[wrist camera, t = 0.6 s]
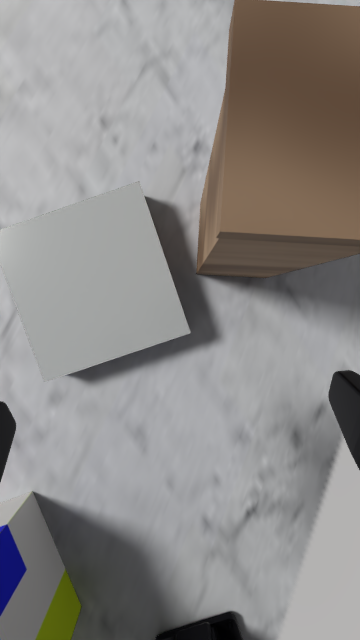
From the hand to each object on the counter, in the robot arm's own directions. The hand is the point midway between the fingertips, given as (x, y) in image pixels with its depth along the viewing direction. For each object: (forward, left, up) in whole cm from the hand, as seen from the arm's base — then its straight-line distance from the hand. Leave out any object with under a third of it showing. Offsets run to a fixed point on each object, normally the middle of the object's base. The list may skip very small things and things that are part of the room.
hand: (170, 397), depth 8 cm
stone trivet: (+5, +4, -14) cm, 15 cm away
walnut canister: (+5, -6, -13) cm, 16 cm away
